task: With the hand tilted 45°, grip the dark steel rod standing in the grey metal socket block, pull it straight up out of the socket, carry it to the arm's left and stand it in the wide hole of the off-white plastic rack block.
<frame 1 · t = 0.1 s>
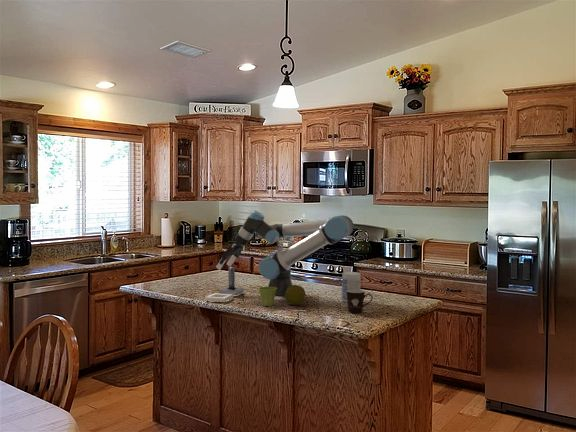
hand: (223, 266, 288), 15 cm above the countertop, tool tilted 35°, fingers open, 13 cm apart
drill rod: (231, 281, 287), in the socket block
coffee mug: (358, 312, 245), on the countertop
rack block: (219, 300, 272), on the countertop
apple: (295, 305, 261), on the countertop
plant pot: (267, 305, 261), on the countertop
supplement tub: (351, 301, 270), on the countertop
socket block: (231, 294, 287), on the countertop
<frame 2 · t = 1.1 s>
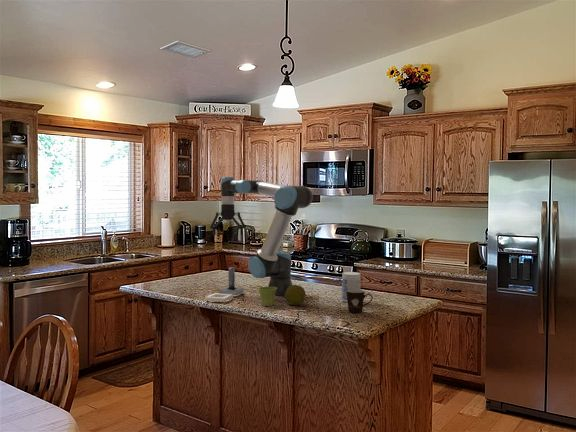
hand: (227, 240, 300), 29 cm above the countertop, tool pointing down, fingers open, 13 cm apart
nothing on the countertop moved.
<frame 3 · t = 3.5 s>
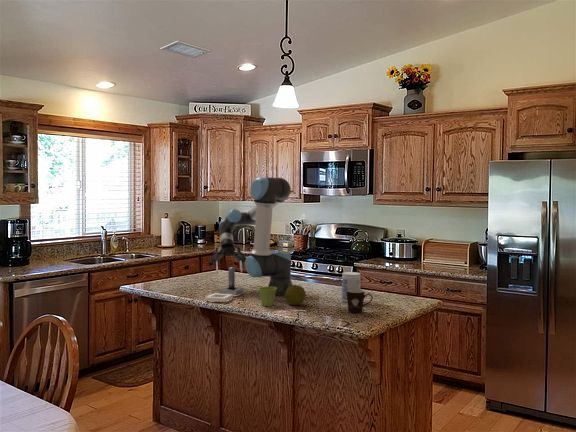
hand: (229, 271, 291), 12 cm above the countertop, tool tilted 45°, fingers open, 13 cm apart
nothing on the countertop moved.
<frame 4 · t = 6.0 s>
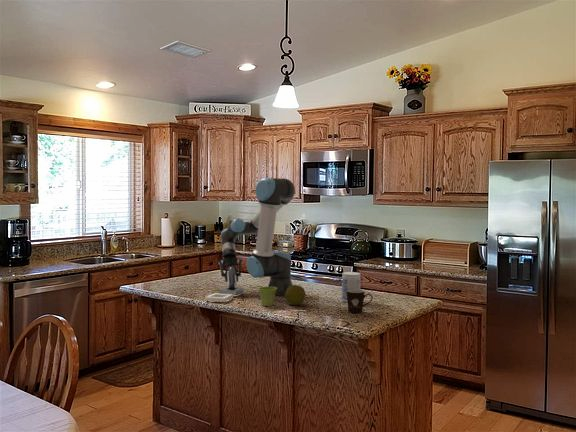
hand: (232, 285, 283), 6 cm above the countertop, tool tilted 45°, fingers closed on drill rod, 3 cm apart
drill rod: (231, 281, 287), in the socket block, touching gripper
everything else where it was.
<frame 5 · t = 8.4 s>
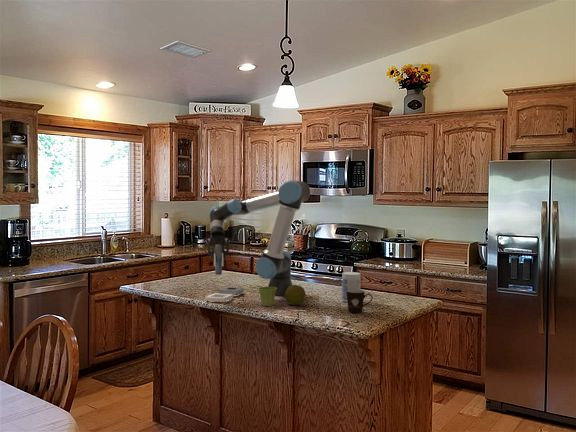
hand: (218, 264, 270), 19 cm above the countertop, tool tilted 45°, fingers closed on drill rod, 3 cm apart
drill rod: (218, 260, 274), point 21 cm above the countertop, touching gripper
everything else where it was.
when the fingers open (7 cm above the countertop, at t = 11.2 s): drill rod stays where it is, resting in rack block.
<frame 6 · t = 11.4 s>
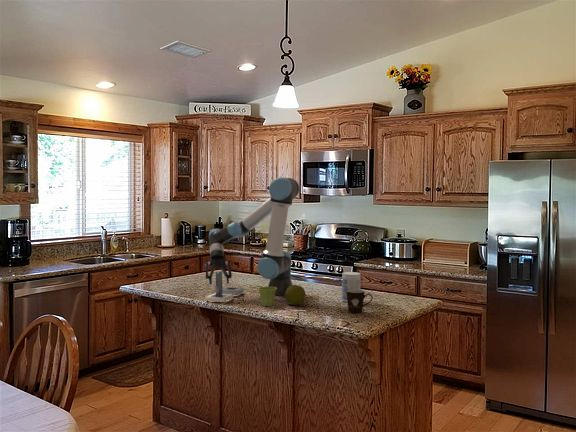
hand: (219, 288, 268), 7 cm above the countertop, tool tilted 45°, fingers open, 6 cm apart
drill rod: (219, 286, 272), in the rack block
everything else where it was.
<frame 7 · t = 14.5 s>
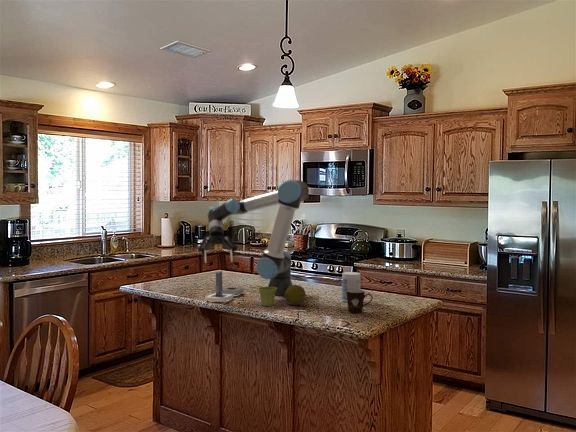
hand: (218, 261, 271), 21 cm above the countertop, tool tilted 45°, fingers open, 13 cm apart
nothing on the countertop moved.
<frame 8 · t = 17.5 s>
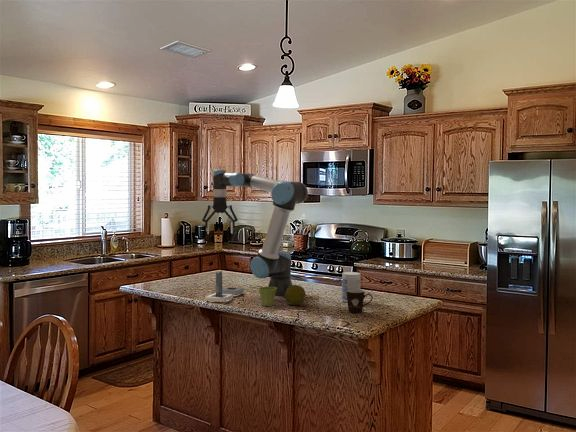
hand: (220, 233, 300), 33 cm above the countertop, tool pointing down, fingers open, 13 cm apart
nothing on the countertop moved.
at the end: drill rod 0.1 cm off-centre on the rack block, point 7.5 cm above the rack block's base; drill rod tilted 0°; the gripper is holding nothing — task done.
